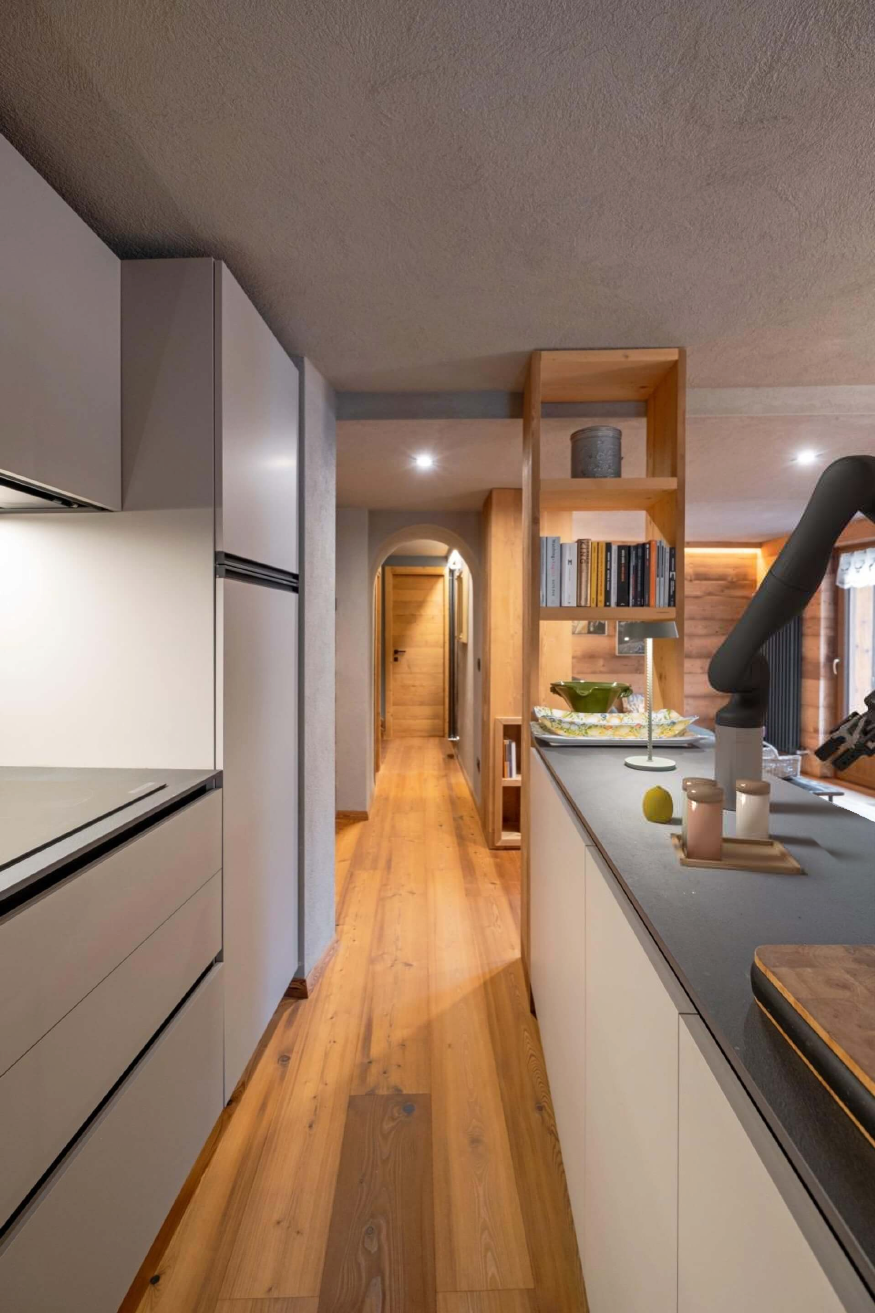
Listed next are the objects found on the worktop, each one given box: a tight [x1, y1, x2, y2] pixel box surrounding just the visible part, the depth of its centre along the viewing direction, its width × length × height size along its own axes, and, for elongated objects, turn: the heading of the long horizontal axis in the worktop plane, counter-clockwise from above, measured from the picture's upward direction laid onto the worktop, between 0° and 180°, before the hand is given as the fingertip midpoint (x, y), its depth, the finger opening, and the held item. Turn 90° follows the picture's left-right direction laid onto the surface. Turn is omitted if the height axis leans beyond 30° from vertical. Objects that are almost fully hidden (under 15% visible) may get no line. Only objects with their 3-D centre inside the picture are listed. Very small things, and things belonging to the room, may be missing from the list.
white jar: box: [735, 779, 771, 840], centre depth 117 cm, size 5×5×11 cm
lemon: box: [642, 785, 674, 824], centre depth 127 cm, size 6×6×8 cm
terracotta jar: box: [686, 785, 724, 861], centre depth 106 cm, size 5×5×11 cm
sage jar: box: [681, 776, 718, 849], centre depth 111 cm, size 5×5×11 cm
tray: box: [669, 832, 804, 876], centre depth 108 cm, size 14×17×2 cm
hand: (826, 762), depth 114 cm, fingers open, 8 cm apart
